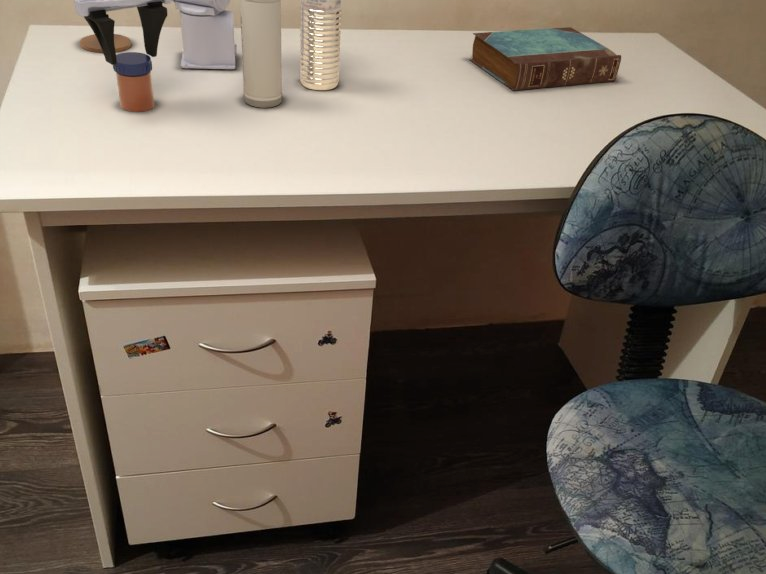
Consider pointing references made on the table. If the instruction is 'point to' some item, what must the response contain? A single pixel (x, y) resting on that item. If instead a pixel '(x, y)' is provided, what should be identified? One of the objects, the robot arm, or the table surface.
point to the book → (544, 58)
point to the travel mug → (261, 52)
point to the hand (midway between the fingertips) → (131, 58)
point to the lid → (132, 64)
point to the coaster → (94, 46)
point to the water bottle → (320, 43)
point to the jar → (135, 92)
